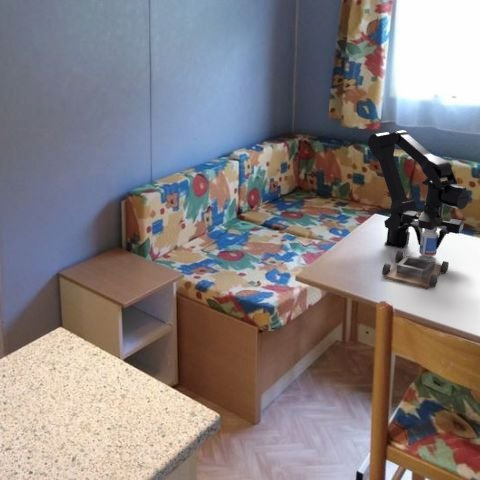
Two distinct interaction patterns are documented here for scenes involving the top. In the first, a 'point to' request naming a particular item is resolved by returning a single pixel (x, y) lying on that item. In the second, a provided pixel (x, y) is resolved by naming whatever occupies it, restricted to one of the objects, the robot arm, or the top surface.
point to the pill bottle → (428, 242)
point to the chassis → (414, 271)
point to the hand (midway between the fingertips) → (428, 246)
